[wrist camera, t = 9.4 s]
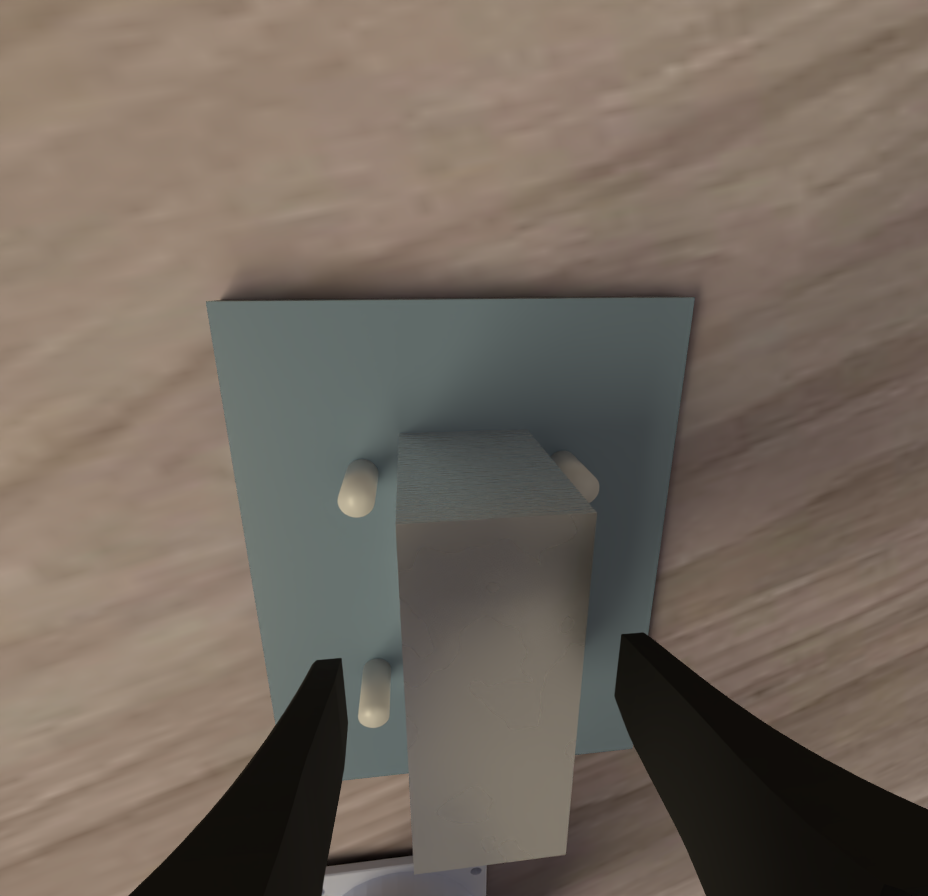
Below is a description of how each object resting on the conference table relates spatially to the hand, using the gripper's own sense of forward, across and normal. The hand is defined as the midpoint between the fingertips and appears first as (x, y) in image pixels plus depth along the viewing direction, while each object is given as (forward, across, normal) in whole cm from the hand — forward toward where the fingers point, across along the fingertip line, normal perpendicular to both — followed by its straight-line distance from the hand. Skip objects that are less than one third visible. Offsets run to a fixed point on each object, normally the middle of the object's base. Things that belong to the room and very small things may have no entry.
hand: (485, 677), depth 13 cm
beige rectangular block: (+5, 0, 0) cm, 5 cm away
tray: (+6, 0, 0) cm, 6 cm away
